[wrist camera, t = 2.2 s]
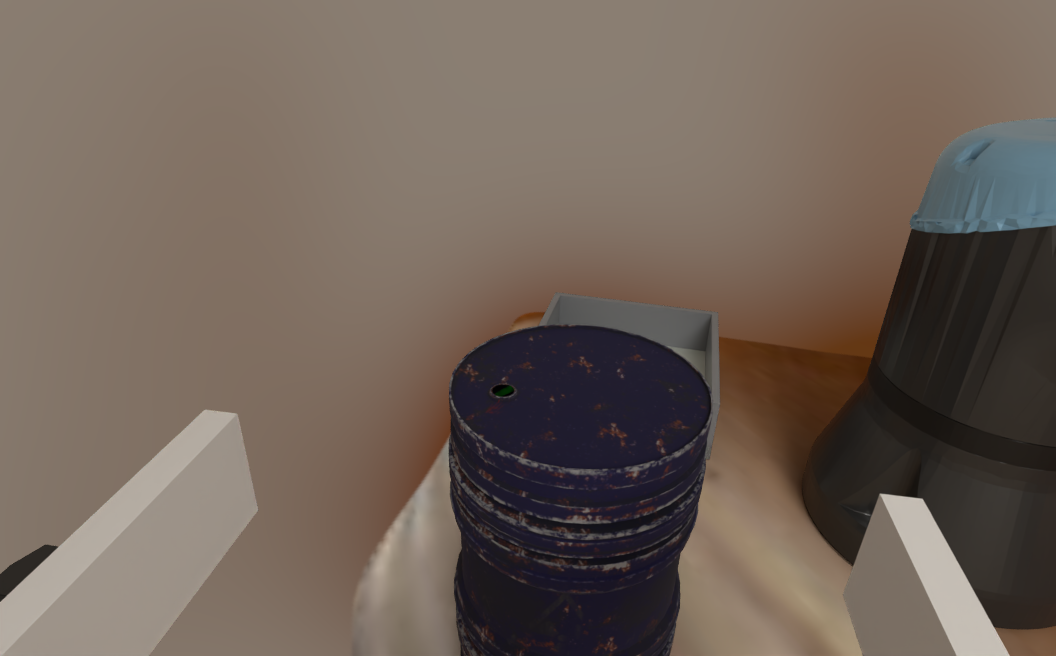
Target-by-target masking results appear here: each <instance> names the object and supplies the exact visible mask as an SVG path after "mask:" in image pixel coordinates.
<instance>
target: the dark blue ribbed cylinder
mask: <svg viewBox="0 0 1056 656" xmlns="http://www.w3.org/2000/svg"><path fill="white" fill-rule="evenodd" d="M449 403H450V414H451V435H450V439H449V468H450V477H451V482H450V498H451V503H452V508H453V511H454V514H455V519H456V522H457V525H458V527H459V529H460V531H461V544H462V549H461V552H460V554H459V558H458V562H457V567H456V574H455V578H454V595H455V601H456V618H457V628H458V634H459V639H460V642H461V656H670V652H671V647H672V643H673V638H674V633H675V628H676V620H677V616H678V612H679V609H680V580H679V574H678V564H679V559H680V553H681V551H682V550H683V548H684V547H685V545H686V543H687V541H688V539H689V537H690V533H691V532H692V530H693V528H694V526H695V522H696V518H697V514H698V502H699V498H700V494H701V490H702V484H703V480H704V474H705V469H706V455H705V452H706V447H707V438H708V434H709V430H710V426H711V420H712V415H713V410H714V407H713V396H712V392H711V389H710V386H709V385H708V383H707V381H706V380H705V378H704V376H703V375H702V374H701V373H700V371H699V370H698V369H697V368H696V367H695V366H694V365H693V364H692V363H691V362H689V361H688V360H687V359H686V358H684V357H683V356H682V355H680V354H679V353H677V352H675V351H674V350H672V349H671V348H669V347H667V346H665V345H663V344H660V343H658V342H656V341H654V340H651V339H649V338H646V337H643V336H641V335H638V334H634V333H630V332H627V331H623V330H618V329H613V328H608V327H602V326H594V325H581V324H553V325H543V326H535V327H529V328H524V329H519V330H516V331H512V332H508V333H505V334H502V335H500V336H497V337H495V338H492V339H490V340H488V341H486V342H484V343H482V344H481V345H479V346H478V347H476V348H475V349H473V350H472V351H470V352H469V353H468V354H467V355H466V356H465V357H464V358H463V359H462V360H461V361H460V362H459V364H458V365H457V367H456V368H455V370H454V371H453V374H452V377H451V380H450V385H449Z"/></svg>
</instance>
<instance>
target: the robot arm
mask: <svg viewBox="0 0 1056 656" xmlns="http://www.w3.org/2000/svg"><path fill="white" fill-rule="evenodd" d="M910 225H911V228H912V230H911V233H910V236H909V240H908V243H907V246H906V249H905V252H904V256H903V259H902V262H901V266H900V269H899V272H898V276H897V278H896V282H895V285H894V289H893V292H892V295H891V298H890V301H889V305H888V308H887V311H886V314H885V318H884V321H883V324H882V328H881V331H880V334H879V337H878V340H877V344H876V347H875V351H874V355H873V357H872V360H871V364H870V367H869V370H868V373H867V376H866V378H865V380H864V381H863V383H862V384H861V385H860V386H859V388H858V389H857V390H856V391H855V392H854V394H853V395H852V396H851V397H850V398H849V400H848V401H847V402H846V403H845V405H844V406H843V407H842V408H841V409H840V411H839V412H838V413H837V414H836V415H835V417H834V418H833V419H832V420H831V422H830V423H829V424H828V425H827V426H826V428H825V429H824V430H823V431H822V433H821V434H820V435H819V436H818V438H817V439H816V441H815V442H814V444H813V446H812V449H811V451H810V454H809V458H808V461H807V465H806V468H805V472H804V475H803V481H802V491H803V497H804V501H805V504H806V507H807V509H808V512H809V514H810V516H811V518H812V519H813V521H814V523H815V524H816V526H817V527H818V529H819V530H820V531H821V533H822V534H823V535H824V537H825V538H826V539H827V540H828V541H829V542H830V543H831V545H832V546H833V547H834V548H835V549H836V550H837V551H838V552H839V553H840V554H842V555H843V556H844V557H845V558H846V559H847V560H848V561H849V562H851V563H852V564H853V565H854V566H853V568H852V571H851V574H850V577H849V579H848V582H847V585H846V588H845V590H844V593H843V596H844V599H845V602H846V605H847V608H848V611H849V614H850V617H851V620H852V623H853V626H854V629H855V632H856V636H857V639H858V642H859V645H860V648H861V651H862V654H863V656H1009V654H1008V652H1007V650H1006V648H1005V647H1004V645H1003V643H1002V641H1001V639H1000V638H999V636H998V634H997V632H996V630H995V628H994V627H998V628H1006V629H1040V628H1047V627H1052V626H1056V118H1043V119H1032V120H1020V121H1011V122H1004V123H998V124H991V125H987V126H983V127H980V128H977V129H974V130H971V131H969V132H967V133H965V134H963V135H961V136H959V137H958V138H956V139H955V140H954V141H952V142H951V143H950V144H949V145H948V146H947V147H946V148H945V149H944V151H943V152H942V153H941V155H940V156H939V158H938V161H937V163H936V165H935V167H934V170H933V173H932V175H931V178H930V180H929V183H928V185H927V188H926V191H925V193H924V196H923V198H922V201H921V204H920V206H919V209H918V210H917V211H916V212H915V213H914V214H913V215H912V217H911V220H910ZM257 511H258V507H257V502H256V498H255V493H254V488H253V484H252V479H251V475H250V470H249V465H248V460H247V456H246V451H245V447H244V442H243V437H242V432H241V428H240V423H239V419H238V415H237V414H236V413H228V412H219V411H211V410H204V411H203V412H202V413H201V414H200V415H199V416H197V417H196V418H195V419H194V420H193V421H192V422H191V423H190V424H189V425H188V426H187V427H186V428H185V429H184V430H183V431H182V432H180V433H179V434H178V435H177V436H176V437H175V438H174V439H173V440H172V441H171V442H170V443H169V444H168V445H167V446H166V447H164V448H163V449H162V450H161V451H160V452H159V453H158V454H157V455H156V456H155V457H154V458H153V459H152V460H151V461H150V462H149V463H147V464H146V465H145V466H144V467H143V468H142V469H141V470H140V471H139V472H138V473H137V474H136V475H135V476H134V477H133V478H132V479H131V480H129V481H128V482H127V483H126V484H125V485H124V486H123V487H122V488H121V489H120V490H119V491H118V492H117V493H116V494H115V495H113V496H112V497H111V498H110V499H109V500H108V501H107V502H106V503H105V504H104V505H103V506H102V507H101V508H100V509H99V510H98V511H96V512H95V513H94V515H92V516H91V517H90V518H89V519H88V520H87V521H86V522H85V523H84V524H83V525H82V526H81V527H79V528H78V529H77V530H76V531H75V532H74V533H73V534H72V535H71V536H70V537H69V538H68V539H67V540H66V541H65V542H63V543H62V544H61V545H60V546H59V547H57V546H51V545H44V546H42V547H41V548H39V549H37V550H35V551H34V552H32V553H30V554H29V555H27V556H25V557H24V558H22V559H20V560H18V561H17V562H15V563H13V564H12V565H10V566H9V567H8V568H7V569H6V570H5V571H3V572H2V573H1V574H0V656H149V655H150V654H151V653H152V651H153V650H154V649H155V647H156V646H157V645H158V643H159V642H160V641H161V639H162V638H163V637H164V635H165V634H166V633H167V631H168V630H169V629H170V627H171V626H172V625H173V623H174V622H175V621H176V619H177V618H178V617H179V615H180V614H181V613H182V611H183V610H184V609H185V607H186V606H187V605H188V603H189V602H190V601H191V599H192V598H193V597H194V595H195V594H196V593H197V591H198V590H199V589H200V587H201V586H202V585H203V583H204V582H205V581H206V579H207V578H208V577H209V575H210V574H211V573H212V571H213V570H214V569H215V567H216V566H217V565H218V563H219V562H220V561H221V559H222V558H223V557H224V555H225V554H226V553H227V551H228V550H229V549H230V547H231V546H232V545H233V543H234V542H235V541H236V539H237V538H238V537H239V535H240V534H241V533H242V531H243V530H244V529H245V527H246V526H247V525H248V523H249V522H250V521H251V519H252V518H253V517H254V515H255V514H256V513H257Z"/></svg>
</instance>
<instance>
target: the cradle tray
mask: <svg viewBox="0 0 1056 656" xmlns="http://www.w3.org/2000/svg"><path fill="white" fill-rule="evenodd" d="M553 324H581V325H594V326H602V327H608V328H613V329H618V330H623V331H627V332H630V333H634V334H638V335H641V336H643V337H646V338H649V339H651V340H654V341H656V342H658V343H660V344H663V345H665V346H667V347H669V348H671V349H672V350H674V351H675V352H677V353H679V354H680V355H682V356H683V357H684V358H686V359H687V360H688V361H689V362H691V363H692V364H693V365H694V366H695V367H696V368H697V369H698V370H699V371H700V373H701V374H702V375H703V376H704V378H705V380H706V381H707V383H708V385H709V386H710V389H711V392H712V396H713V407H714V410H713V415H712V420H711V426H710V430H709V434H708V438H707V447H706V452H705V455H706V459H709V458H710V453H711V448H712V443H713V438H714V432H715V427H716V422H717V417H718V412H719V407H720V380H719V333H718V312H712V311H703V310H695V309H687V308H678V307H671V306H663V305H654V304H647V303H638V302H630V301H621V300H614V299H606V298H598V297H590V296H581V295H573V294H565V293H555V295H554V297H553V299H552V301H551V303H550V305H549V307H548V308H547V310H546V312H545V314H544V316H543V318H542V320H541V322H540V324H539V326H543V325H553Z"/></svg>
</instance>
